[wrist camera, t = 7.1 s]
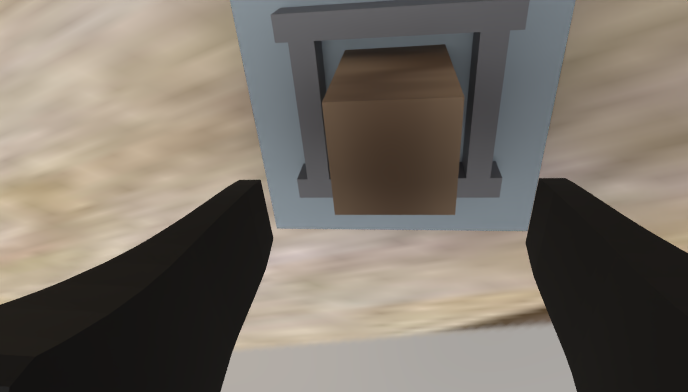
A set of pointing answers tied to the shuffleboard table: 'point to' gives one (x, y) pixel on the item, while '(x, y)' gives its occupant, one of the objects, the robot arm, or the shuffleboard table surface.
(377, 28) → the board
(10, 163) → the shuffleboard table surface
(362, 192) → the block
